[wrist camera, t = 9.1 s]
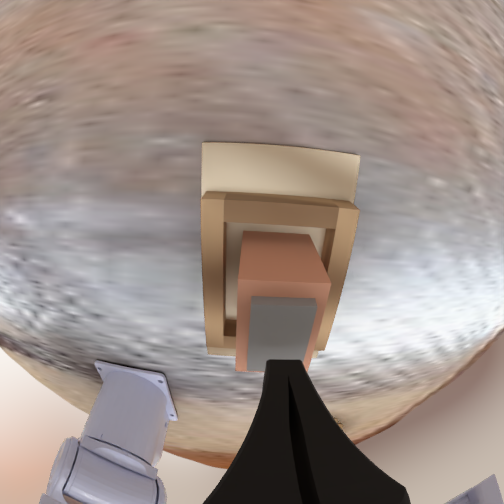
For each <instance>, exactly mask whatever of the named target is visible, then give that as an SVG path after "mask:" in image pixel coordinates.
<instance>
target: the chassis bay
mask: <svg viewBox="0 0 504 504" xmlns="http://www.w3.org/2000/svg"><path fill="white" fill-rule="evenodd" d="M359 164H360V156H359V155H355V154H349V153H343V152H336V151H329V150H321V149H313V148H304V147H294V146H284V145H271V144H256V143H233V142H202V178H201V251H202V279H203V299H204V316H205V331H206V345H207V350H208V354H211V355H223V356H236V326H237V292H238V274H239V264H240V255H241V246H242V237H243V231H261V232H279V233H295V234H309V235H310V237H311V239H312V241H313V243H314V245H315V248H316V250H317V252H318V254H319V256H320V259H321V261H322V263H323V265H324V267H325V270H326V272H327V274H328V277H329V279H330V281H331V287H330V292H329V296H328V300H327V304H326V308H325V312H324V316H323V319H322V323H321V327H320V330H319V334H318V338H317V341H316V345H315V348H314V352H313V355H312V358H317V354H318V351H321V350H325V347H326V344H327V341H328V338H329V334H330V331H331V328H332V324H333V321H334V318H335V314H336V311H337V307H338V304H339V300H340V296H341V293H342V289H343V285H344V281H345V277H346V273H347V269H348V265H349V260H350V256H351V251H352V247H353V242H354V238H355V233H356V228H357V223H358V217H359V212H360V210H359V209H358V208H357V207H356V206H355V205H354V198H355V192H356V185H357V178H358V171H359Z"/></svg>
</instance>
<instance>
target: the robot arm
mask: <svg viewBox="0 0 504 504" xmlns="http://www.w3.org/2000/svg"><path fill="white" fill-rule="evenodd" d="M94 364H95V366H96V368H97V370H98V372H99V374H100V376H101V378H102V380H103V385H102V387H101V389H100V391H99V394H98V396H97V398H96V400H95V403H94V405H93V407H92V410H91V412H90V414H89V417H88V419H87V422H86V425H85V427H84V430H83V432H82V434H81V437H80V438H78V439H76V438H75V437H71V438H66V439H65V440H64V441H63V443H62V445H61V447H60V449H59V451H58V454H57V456H56V458H55V461H54V464H53V467H52V470H51V474H50V478H49V483H48V486H47V492H46V494H47V495H46V494H42V496H41V499H40V502H39V504H166V500H167V499H166V498H167V496H166V489H165V487H164V485H163V482H162V480H161V479H160V478H159V477H158V476H157V471H158V469H156V468H154V466H155V465H157V463H158V462H159V461H160V458H161V455H162V451H163V446H164V441H165V437H166V432H167V428H168V423H169V420H173V421H177V419H178V416H177V413H176V410H175V407H174V404H173V401H172V398H171V395H170V391H169V388H168V385H167V381H166V378H165V376H164V375H163V374H162V373H157V372H151V371H145V370H140V369H135V368H130V367H125V366H120V365H115V364H111V363H107V362H102V361H98V360H96V361H95V363H94ZM203 504H411V503H410V499H409V496H408V493H407V491H406V488H405V487H404V486H402V485H401V484H400V483H398V482H397V481H395V480H394V479H392V478H391V477H389V476H388V475H387V474H386V473H384V472H383V471H382V470H381V469H379V468H378V467H377V466H376V465H375V464H374V463H373V462H371V461H370V460H369V459H368V458H367V457H366V456H365V455H364V454H363V453H362V452H361V451H360V450H359V449H358V448H357V447H356V446H355V445H354V444H353V442H352V441H351V440H350V439H349V438H348V437H347V435H346V434H345V433H344V432H343V430H342V429H341V428H340V427H339V425H338V424H337V423H336V421H335V420H334V418H333V417H332V415H331V414H330V412H329V411H328V409H327V408H326V406H325V405H324V403H323V401H322V400H321V398H320V396H319V395H318V393H317V391H316V389H315V387H314V385H313V384H312V382H311V380H310V378H309V376H308V374H307V371H306V369H305V367H304V365H303V362H302V361H301V360H283V359H269V360H267V361H266V367H265V374H264V381H263V391H262V396H261V399H260V403H259V406H258V409H257V411H256V414H255V417H254V419H253V422H252V424H251V427H250V429H249V431H248V433H247V436H246V438H245V440H244V442H243V444H242V446H241V448H240V449H239V451H238V453H237V455H236V457H235V458H234V460H233V462H232V464H231V465H230V467H229V468H228V470H227V471H226V473H225V474H224V476H223V477H222V479H221V480H220V482H219V483H218V485H217V486H216V488H215V489H214V490H213V491H212V493H211V494H210V495H209V496H208V498H207V499H206V500H205V501H204V503H203ZM445 504H503V500H502V497H501V493H500V490H499V486H498V483H497V480H496V477H495V475H494V474H493V475H491V476H490V477H488V478H487V479H485V480H484V481H482V482H481V483H479V484H478V485H476V486H474V487H473V488H470V489H468V490H467V491H465V492H463V493H462V494H460V495H458V496H456V497H455V498H453V499H451V500H449V502H447V503H445Z"/></svg>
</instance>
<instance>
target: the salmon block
mask: <svg viewBox="0 0 504 504" xmlns="http://www.w3.org/2000/svg"><path fill="white" fill-rule="evenodd" d="M330 287H331V281H330V279H329V277H328V274H327V272H326V270H325V267H324V265H323V263H322V261H321V259H320V256H319V254H318V252H317V250H316V248H315V245H314V243H313V241H312V239H311V237H310V235H309V234H295V233H279V232H261V231H243V237H242V246H241V255H240V264H239V274H238V292H237V326H236V368H235V371H246V372H265V367H266V361H267V360H269V359H283V360H301V361H302V362H303V365H304V367H305V369H306V371H308V368H309V365H310V361H311V358H312V355H313V352H314V348H315V345H316V341H317V338H318V334H319V330H320V327H321V323H322V319H323V316H324V312H325V308H326V304H327V300H328V296H329V292H330Z"/></svg>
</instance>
